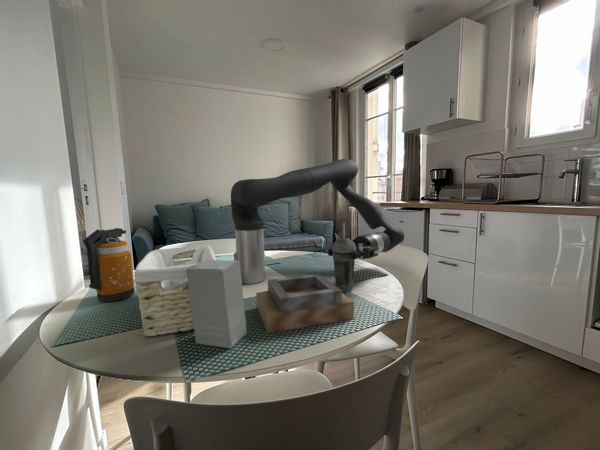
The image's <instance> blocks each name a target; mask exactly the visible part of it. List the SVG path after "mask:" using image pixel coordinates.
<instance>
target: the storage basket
mask: <svg viewBox="0 0 600 450" xmlns="http://www.w3.org/2000/svg"><path fill="white" fill-rule="evenodd" d="M174 259H175V260H176V259H177V260H178V259H189V260H187V261H185V262H182V263H180V264H176V265H175V261H174ZM204 260H217V258H216V255H215V253H214V249H213V248H212V247H211V245H209V244H206V245H200V246H198V245H197V246H184V247H183V246H182V247H173V248H164V249H163V248H161V249H154V250H152V251H149V252H148V253H147V254H146V255H145V256H144V257H143V258H142V259H141V260H140V261H139V263H138V264H137V265H136V267H135V270H134V275H133V278H134V284H135V285H136V286H135V290H136V292H137V298H138V302H139V305H138V306H139V307H138V308H139V311H140V318H141V319H140V320H141V323H142V330H143V332H142V333H141V334H142V335H144V337H154V336H155V337H156V336H158V335H159V336H163V335H167V334H174V333H178V332H188V331H191V330H194V325H193V317H192V309H191V302H190V293H189V286H188V279H187V271H186V268H188V267H191V266H193V265H195V264H198V263H200V262H202V261H204Z"/></svg>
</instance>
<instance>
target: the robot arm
mask: <svg viewBox="0 0 600 450" xmlns="http://www.w3.org/2000/svg"><path fill="white" fill-rule="evenodd" d="M358 171H359V167H358V164H357V163H356V162H355V161H353V160H351V159H349V158H341V159H337V160H334V161H331V162H328V163H326V164H325V163H324V164H321V165H317V166H312V167H305V168H299V169H294V170H291V171H287V172H285V173H284V174H281V175H278V176H276V177H267V178H250V179H249V178H248V179H241V180H237V181H236V182H235V183H234V184H233V185H232V186H231V191H230V204H231V205H230V206H231V217H232V222H233V224H234V233H235V234H234V235H235V237H234V238H235V252H234V253H233V260H237V261H239V262H240V272H241V281H242V284H246V285H248V284H249V285H251V284H258V283H262V282H264V281H265V280H266V264H265V262H266V260H265V234H264V233H265V232H264V230H265V229H264V220H263V219H262V217H260V214H259V209H258V208H260V207H262V206H266V205H267V204H269V203H272V202H275V201H278V200H281V199H290V198H295V197H296V198H297V197H302V196H305V195H308V194H309V195H310V194H312V193H315V192H316V191H318V190H319V189H322V188H323V187H325V186H326V185H327V184H331V185H332V186H333V188H334V189H336V190H337V192H339V193H340V195H341V196H342V197H343V198H344V199H345V200H346V201H347V202H348V203H349V204H351V206H352V207H353V208H355V210H356V211H357V212H358V214H359V215H360V216H361V218H362V219H363V221H364V222H365V223H366V225H367V226H368V228H369V229H371V230H376V229H378V228H379V229H380V227H382V228H384V230H383V231H378V232H377V231H376V232H373V233H366V234H362V235H358V236H356V237H354V239H353V240H352V241H353V242H354V244H355V246H356V251H353V252H351V254H350V258H351V260H355V261H356V260H357V259H360V260H365V259H366V260H369V259H372V258H375V257H378V256H379V254H380V253H388V252H390V251H391V250H393V249H394V248H396V247H397V246H398V245H400V244H401V243H403V242H404V240H405V234H404V231H403V230H402V229H401V228H400V227H399V226H398V225H396V224H395V223H394V222H393V221H391V220H390V219H389V218H388V217H386V215H384V213H383V212H382V211H381V209H380V208H379V206H378V205H377V204H376V203H375V202H374V201H373V200H371V199H369V198H368V197H365V196H363V195H361V194H359V193H358V192H356V191H355V190H354V189H353V187H352V185H351V183H352V181H353V180H355V178H356V176H357V175H358V173H359V172H358ZM332 246H333V244H331V245H330V248H328V249H327V255H328V257H333V256H332V252H331V251H332Z"/></svg>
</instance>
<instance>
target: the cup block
mask: <svg viewBox="0 0 600 450" xmlns="http://www.w3.org/2000/svg"><path fill="white" fill-rule="evenodd" d="M255 293H256V294H255V295H256V296H255V297H256V309H257V312H258V314H259V316H260V318H261V321H262V324H263V325H264V328H265V331H266V333H267V334H271V333H276V332H277V333H278V332H283V331H288V330H294V329H300V328H306V327H313V326H318V325H325V324H329V323H330V324H331V323H337V322H343V321H349V320H354V319H355V301H354V300H352V299H351V298H349V297H348V296H347V295H345V293H344V292H342V290H340V289H339V288H337V287H336V284H334V283H332V282H331V281H329V280H328V279H327V278H325V277H324V276H323V275H321V274H320V273H315V274H308V275H298V276H297V275H296V276H289V277H279V278H270V279H267V290H266V291H265V290H264V291H257V292H255Z"/></svg>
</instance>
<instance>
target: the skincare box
mask: <svg viewBox="0 0 600 450" xmlns="http://www.w3.org/2000/svg"><path fill="white" fill-rule="evenodd" d="M186 271H187V279H188V286H189V293H190V302H191V309H192V317H193V325H194V329H193V332H194V339H195V344H197V345H205V346H210V347H211V346H212V347H217V348H218V347H219V348H225V349H231V348H233V346H235V345H236V344H237V343H238V341H240V340H241V339H242V338H243V337H244V336H246V334H247V332H248V331H247V320H246V319H247V318H246V311H245V310H246V309H245V302H244V294H243V283H242V281H241V272H240V262H239V261H237V260H234V259H233V260H232V259H231V260H229V259H227V260H225V259H224V260H223V259H216V260H204V261H202V262H200V263H198V264H195V265H193V266H191V267H188V268H186Z"/></svg>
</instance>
